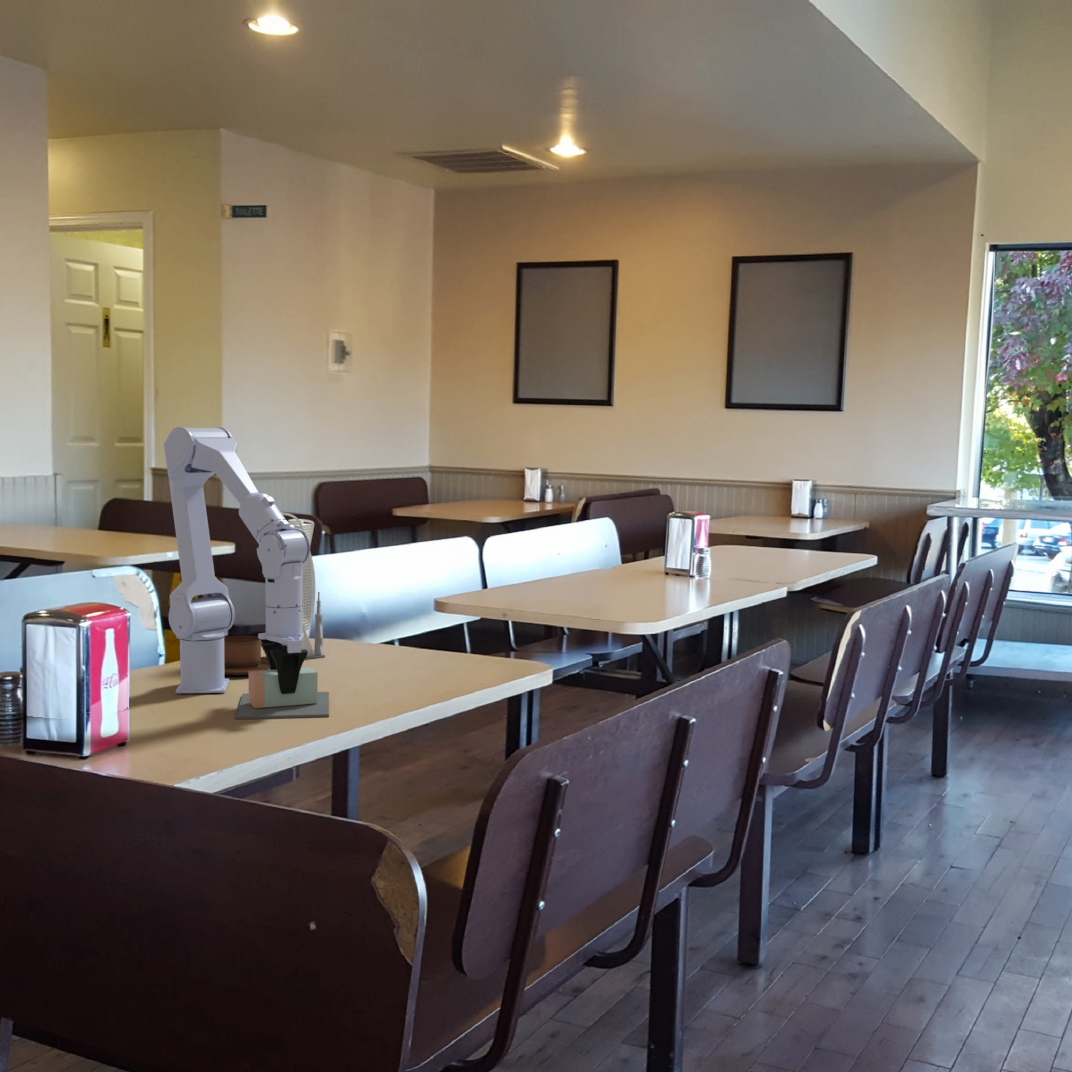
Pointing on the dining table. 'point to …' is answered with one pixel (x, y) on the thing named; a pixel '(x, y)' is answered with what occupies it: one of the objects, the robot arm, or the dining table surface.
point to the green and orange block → (268, 691)
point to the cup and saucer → (243, 655)
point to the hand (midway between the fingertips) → (284, 690)
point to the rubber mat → (284, 709)
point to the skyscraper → (309, 596)
